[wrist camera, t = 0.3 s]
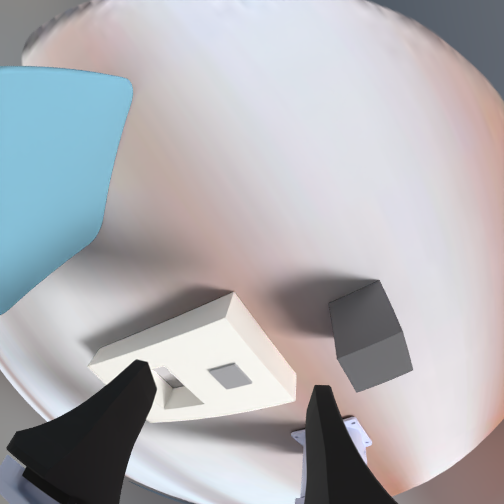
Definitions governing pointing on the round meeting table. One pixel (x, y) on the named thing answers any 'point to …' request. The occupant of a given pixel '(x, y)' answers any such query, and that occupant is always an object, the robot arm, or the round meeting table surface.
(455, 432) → the round meeting table surface
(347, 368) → the plug
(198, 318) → the white socket board
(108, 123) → the data package
